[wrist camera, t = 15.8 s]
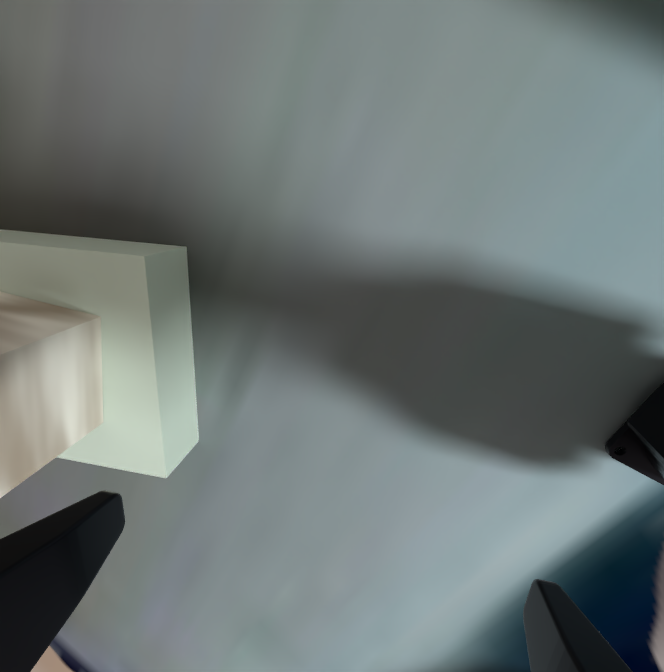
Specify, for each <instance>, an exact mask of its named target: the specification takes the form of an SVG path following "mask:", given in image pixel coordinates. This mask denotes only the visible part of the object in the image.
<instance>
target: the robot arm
mask: <svg viewBox="0 0 664 672" xmlns="http://www.w3.org/2000/svg"><path fill="white" fill-rule="evenodd" d="M617 447H622V448H621V449H620V450H617V451H615V449H616V448H617ZM605 449H606V451H607V452H608V454H609V455H610V456H611V457H612V458H613V459H615V460H617V461H619V462H621V463H623V464H625V465H627V466H629V467H630V468H632V469H634V470H636V471H638V472H640V473H642V474H644V475H646V476H647V477H649V478H651V479H653V480H655V481H657V482H659V483H661V484H663V485H664V383H663V384H662V385H661V386H660V387H659V388H658V389H657V390H656V391H655V392H654V393H653V394H652V395H651V396H650V397H649V398H648V399H647V400H646V401H645V402H644V403H643V404H642V405H641V406H640V408H639V409H638V410H637V411H636V412H635V413H634V414H633V415H632V416H631V417H630V418H629V419H628V421H627V422H626V423H625V424H624V425H623V426H622V427H621V428H620V429H619V430H618V431H617V432H616V433H615V434H614V435H613V436H612V437H611V438H610V439H609V440H608V441H607V443H606V444H605ZM124 525H125V516H124V509H123V502H122V497H121V495H120V494H119V493H115V492H110V491H100V492H98V493H95V494H93V495H91V496H89V497H87V498H85V499H83V500H81V501H79V502H77V503H75V504H73V505H70V506H68V507H66V508H64V509H62V510H60V511H58V512H56V513H54V514H52V515H50V516H48V517H45V518H43V519H41V520H39V521H37V522H35V523H33V524H31V525H29V526H27V527H25V528H23V529H21V530H18V531H16V532H14V533H12V534H10V535H8V536H6V537H4V538H2V539H0V672H30V671H31V670H32V669H33V667H34V666H35V664H36V663H37V662H38V660H39V659H40V657H41V656H42V655H43V653H44V652H45V650H46V649H47V648H48V646H49V645H50V643H51V642H52V641H53V639H54V638H55V636H56V635H57V634H58V632H59V631H60V629H61V628H62V627H63V625H64V624H65V622H66V621H67V620H68V618H69V617H70V615H71V614H72V612H73V611H74V610H75V608H76V607H77V605H78V604H79V602H80V601H81V599H82V598H83V596H84V595H85V593H86V591H87V590H88V588H89V587H90V585H91V583H92V582H93V580H94V578H95V577H96V575H97V573H98V571H99V570H100V568H101V566H102V565H103V563H104V561H105V560H106V558H107V556H108V555H109V553H110V551H111V550H112V548H113V546H114V545H115V543H116V541H117V540H118V538H119V536H120V534H121V533H122V531H123V528H124ZM523 619H524V627H525V633H526V640H527V647H528V654H529V661H530V668H531V672H633V671H632V670H631V669H630V668H629V667H628V666H627V664H626V663H625V662H624V661H623V660H622V659H621V657H620V656H619V655H618V654H617V653H616V651H615V650H614V649H613V648H612V647H611V646H610V644H609V643H608V642H607V641H606V640H605V638H604V637H603V636H602V635H601V634H600V633H599V631H598V630H597V629H596V628H595V627H594V625H593V624H592V623H591V622H590V621H589V620H588V618H587V617H586V616H585V615H584V614H583V613H582V611H581V610H580V609H579V608H578V607H577V605H576V604H575V603H574V602H573V601H572V600H571V598H570V597H569V596H568V595H567V594H566V592H565V591H564V590H563V589H562V588H561V587H560V586H559V585H558V584H556V583H554V582H550V581H545V580H540V579H535V580H534V581H533V583H532V585H531V588H530V591H529V594H528V597H527V600H526V603H525V606H524V611H523Z"/></svg>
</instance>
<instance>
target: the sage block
mask: <svg viewBox="0 0 664 672" xmlns="http://www.w3.org/2000/svg"><path fill="white" fill-rule="evenodd" d="M0 292H4V293H8V294H12V295H16V296H21V297H25V298H29V299H33V300H37V301H41V302H45V303H49V304H53V305H57V306H61V307H65V308H69V309H73V310H77V311H81V312H85V313H89V314H93V315H97V316H101V344H102V384H103V423H102V424H101V425H99V426H98V427H97V428H95V429H94V430H93V431H91V432H90V433H88V434H87V435H86V436H84V437H83V438H82V439H80V440H79V441H78V442H76V443H75V444H73V445H72V446H71V447H69V448H68V449H67V450H65V451H64V452H62V453H61V454H60V455H58V456H57V457H58V458H63V459H68V460H73V461H79V462H84V463H89V464H94V465H100V466H105V467H110V468H115V469H120V470H126V471H131V472H136V473H141V474H147V475H152V476H157V477H162V478H167V477H168V476H169V475H170V474H171V472H172V471H173V470H174V469H175V468H176V467H177V466H178V464H179V463H180V462H181V461H182V460H183V459H184V457H185V456H186V455H187V454H188V453H189V452H190V451H191V449H192V448H193V447H194V446H195V445H196V444H197V442H198V441H199V434H198V418H197V403H196V387H195V371H194V355H193V340H192V324H191V308H190V293H189V277H188V261H187V247H185V246H174V245H163V244H152V243H142V242H131V241H120V240H109V239H99V238H88V237H77V236H66V235H56V234H45V233H34V232H23V231H13V230H2V229H0Z"/></svg>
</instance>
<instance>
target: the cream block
mask: <svg viewBox="0 0 664 672" xmlns="http://www.w3.org/2000/svg"><path fill="white" fill-rule="evenodd" d="M102 423H103V384H102V344H101V316H97V315H93V314H89V313H85V312H81V311H77V310H73V309H69V308H65V307H61V306H57V305H53V304H49V303H45V302H41V301H37V300H33V299H29V298H25V297H21V296H16V295H12V294H8V293H4V292H0V498H1V497H2V496H4V495H5V494H6V493H8V492H9V491H11V490H12V489H13V488H15V487H16V486H17V485H19V484H20V483H21V482H23V481H24V480H26V479H27V478H28V477H30V476H31V475H32V474H34V473H35V472H37V471H38V470H39V469H41V468H42V467H43V466H45V465H46V464H47V463H49V462H50V461H52V460H53V459H54V458H56V457H57V456H58V455H60V454H61V453H62V452H64V451H65V450H67V449H68V448H69V447H71V446H72V445H73V444H75V443H76V442H78V441H79V440H80V439H82V438H83V437H84V436H86V435H87V434H88V433H90V432H91V431H93V430H94V429H95V428H97V427H98V426H99V425H101V424H102Z"/></svg>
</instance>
